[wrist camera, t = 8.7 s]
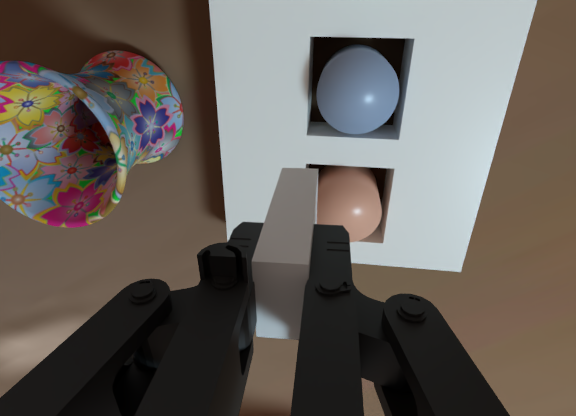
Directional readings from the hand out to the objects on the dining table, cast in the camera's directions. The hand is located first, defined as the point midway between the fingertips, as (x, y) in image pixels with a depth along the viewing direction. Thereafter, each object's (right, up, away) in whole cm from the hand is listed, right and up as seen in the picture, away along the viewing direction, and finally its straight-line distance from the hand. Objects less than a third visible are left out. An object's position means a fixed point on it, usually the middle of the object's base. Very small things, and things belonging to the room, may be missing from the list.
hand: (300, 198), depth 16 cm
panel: (+4, +8, +10) cm, 14 cm away
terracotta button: (+4, +1, +14) cm, 14 cm away
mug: (-14, +7, +14) cm, 21 cm away
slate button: (+4, +8, +10) cm, 14 cm away
